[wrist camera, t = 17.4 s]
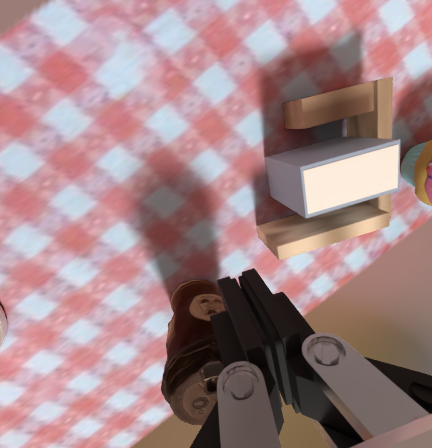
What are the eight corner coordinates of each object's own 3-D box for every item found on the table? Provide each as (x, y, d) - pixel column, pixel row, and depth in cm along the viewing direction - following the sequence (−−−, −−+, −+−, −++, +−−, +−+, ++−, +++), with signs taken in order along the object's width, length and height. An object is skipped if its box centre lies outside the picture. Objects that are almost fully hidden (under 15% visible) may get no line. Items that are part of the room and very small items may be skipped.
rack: (258, 237, 32) (279, 260, 26) (235, 114, 27) (255, 111, 21) (361, 206, 33) (402, 222, 28) (358, 84, 28) (407, 73, 23)
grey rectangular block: (270, 196, 31) (306, 218, 23) (264, 157, 29) (300, 167, 21) (342, 176, 31) (399, 190, 24) (340, 136, 30) (400, 139, 22)
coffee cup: (189, 255, 31) (208, 336, 19) (244, 286, 34) (290, 374, 22) (148, 312, 32) (141, 421, 20) (204, 337, 35) (227, 446, 23)
